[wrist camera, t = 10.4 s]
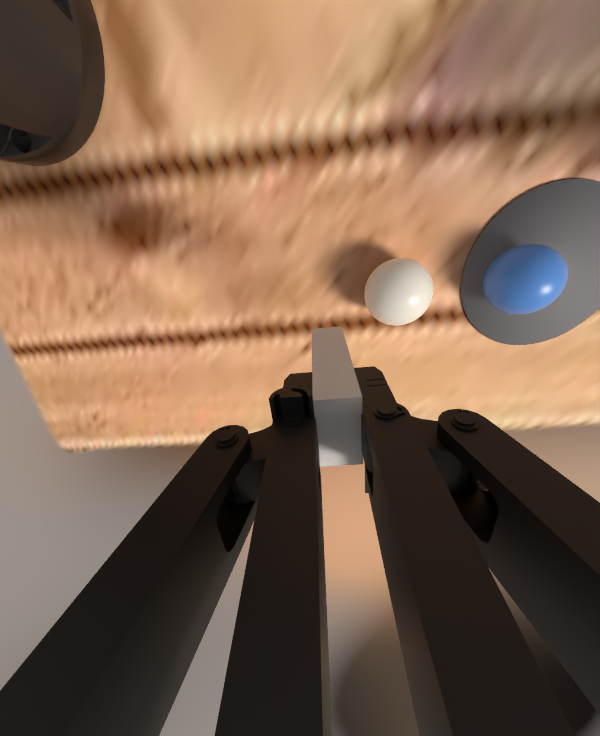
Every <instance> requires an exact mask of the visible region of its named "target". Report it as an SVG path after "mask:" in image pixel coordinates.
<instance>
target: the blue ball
mask: <svg viewBox="0 0 600 736" xmlns="http://www.w3.org/2000/svg"><path fill="white" fill-rule="evenodd" d="M567 279H568V267H567V264H566V261H565V260H564V258H563V257H562V255H561V254H560V253H558V252H557V251H556V250H554V249H553V248H551V247H548V246H545V245H540V244H526V245H521V246H517V247H514V248H512V249H509V250H507V251H506V252H504V253H502V254H501V255H500V256H498V257H497V258H496V259H495V260H494V261H493V262H492V263H491V265H490V266H489V267H488V269H487V271H486V273H485V276H484V279H483V291H484V295H485V297H486V299H487V301H488V302H489V303H490V304H491V305H492V306H493V307H494V308H496V309H497V310H499V311H502V312H504V313H508V314H517V315H519V314H528V313H532V312H535V311H538V310H541V309H543V308H545V307H546V306H548V305H549V304H551V303H552V302H553V301H554V300H555V299H556V298H557V297H558V296H559V295H560V294H561V293H562V291H563V289H564V288H565V285H566V283H567Z"/></svg>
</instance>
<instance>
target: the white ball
mask: <svg viewBox="0 0 600 736" xmlns="http://www.w3.org/2000/svg"><path fill="white" fill-rule="evenodd" d="M432 296H433V282H432V278H431V276H430V274H429V272H428V271H427V269H426V268H425V267H424V266H423V265H421V264H420V263H419V262H417V261H414V260H412V259H408V258H395V259H391V260H388V261H386V262H384V263H382V264H381V265H379V266H378V267H377V268H376V269H375V270H374V271H373V272H372V273H371V275H370V276H369V278H368V280H367V282H366V286H365V291H364V297H365V303H366V306H367V308H368V310H369V312H370V313H371V314H372V316H373V317H375V318H376V319H377V320H379V321H380V322H382V323H385V324H388V325H404V324H408V323H410V322H412V321H414V320H416V319H417V318H419V317H420V316H421V315H422V314H423V313H424V312H425V311H426V309H427V308H428V306H429V304H430V302H431V300H432Z"/></svg>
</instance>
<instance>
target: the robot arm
mask: <svg viewBox="0 0 600 736" xmlns="http://www.w3.org/2000/svg"><path fill="white" fill-rule="evenodd" d="M104 83H105V68H104V56H103V47H102V42H101V36H100V32H99V27H98V23H97V19H96V16H95V12H94V9H93V6H92V3H91V0H0V160H3V161H8V162H13V163H18V164H23V165H31V166H42V165H50V164H54V163H57V162H60V161H62V160H65V159H67V158H68V157H70V156H72V155H73V154H74V153H76V152H77V151H78V150H79V149H80V148H81V147H82V146H83V145H84V144H85V142H86V141H87V140H88V138H89V137H90V135H91V133H92V132H93V130H94V128H95V125H96V123H97V120H98V118H99V114H100V111H101V107H102V101H103V95H104ZM269 402H270V408H271V413H272V419H273V423H272V425H271V426H269V427H268V428H266V429H263V430H261V431H258V432H254V433H251V434H248V430H247V429H245V428H244V427H242V426H238V425H229V426H225V427H221V428H219V429H217V430H215V431H213V432H212V433H211V434H210V435H209V436H208V437H207V438H206V439H205V440H204V442H203V443H202V444H201V445H200V446H199V448H198V449H197V450H196V452H195V453H194V454H193V455H192V456H191V458H190V459H189V460H188V461H187V462H186V464H185V465H184V466H183V468H182V469H181V470H180V471H179V472H178V473H177V475H176V476H175V477H174V478H173V480H172V481H171V482H170V483H169V485H168V486H167V487H166V488H165V489H164V491H163V492H162V493H161V494H160V496H159V497H158V498H157V499H156V500H155V502H154V503H153V504H152V505H151V507H150V508H149V509H148V510H147V512H146V513H145V514H144V515H143V517H142V518H141V519H140V520H139V521H138V523H137V524H136V525H135V526H134V527H133V529H132V530H131V531H130V532H129V534H128V535H127V536H126V537H125V538H124V540H123V541H122V542H121V544H120V545H119V546H118V547H117V548H116V550H115V551H114V552H113V553H112V554H111V556H110V557H109V558H108V559H107V561H106V562H105V563H104V564H103V565H102V567H101V568H100V569H99V570H98V572H97V573H96V574H95V575H94V576H93V578H92V579H91V580H90V581H89V583H88V584H87V585H86V586H85V588H84V589H83V590H82V591H81V593H80V594H79V595H78V596H77V597H76V599H75V600H74V601H73V602H72V604H71V605H70V606H69V607H68V608H67V610H66V611H65V612H64V613H63V615H62V616H61V617H60V618H59V619H58V621H57V622H56V623H55V624H54V626H53V627H52V628H51V629H50V630H49V632H48V633H47V634H46V636H45V637H44V638H43V639H42V640H41V642H40V643H39V644H38V646H37V647H36V648H35V649H34V650H33V651H32V653H31V654H30V655H29V656H28V658H27V659H26V660H25V661H24V662H23V664H22V665H21V666H20V667H19V668H18V670H17V671H16V673H14V675H13V676H12V677H11V678H10V680H9V681H8V682H7V683H6V685H5V686H4V687H3V688H2V689H1V691H0V736H159V734H160V732H161V730H162V728H163V725H164V723H165V721H166V719H167V716H168V714H169V712H170V710H171V707H172V705H173V703H174V701H175V698H176V696H177V694H178V691H179V689H180V687H181V685H182V682H183V680H184V678H185V676H186V673H187V671H188V669H189V667H190V664H191V662H192V660H193V657H194V655H195V653H196V651H197V648H198V646H199V644H200V642H201V639H202V637H203V635H204V633H205V630H206V628H207V626H208V624H209V621H210V619H211V617H212V615H213V612H214V610H215V608H216V606H217V603H218V601H219V599H220V596H221V594H222V592H223V590H224V587H225V585H226V583H227V580H228V578H229V576H230V574H231V572H232V569H233V567H234V565H235V563H236V560H237V558H238V556H239V554H240V551H241V549H242V547H243V545H244V542H245V540H246V538H247V536H248V533H249V531H250V528H251V526H252V524H253V522H254V526H253V532H252V537H251V542H250V548H249V553H248V558H247V564H246V569H245V575H244V580H243V585H242V591H241V597H240V602H239V607H238V613H237V618H236V623H235V629H234V635H233V640H232V645H231V650H230V656H229V662H228V667H227V672H226V677H225V683H224V689H223V694H222V699H221V704H220V710H219V716H218V721H217V726H216V732H215V736H332V721H331V720H332V719H331V696H330V673H329V650H328V629H327V605H326V584H325V583H326V582H325V559H324V539H323V538H324V537H323V514H322V492H321V475H320V466H338V465H355V464H363V458H364V462H365V493H369V498H370V502H371V507H372V512H373V517H374V521H375V525H376V531H377V536H378V540H379V545H380V550H381V554H382V559H383V564H384V568H385V574H386V578H387V583H388V588H389V593H390V597H391V602H392V606H393V612H394V616H395V621H396V626H397V630H398V635H399V640H400V645H401V650H402V654H403V659H404V664H405V669H406V673H407V678H408V683H409V687H410V692H411V697H412V702H413V707H414V711H415V716H416V721H417V726H418V731H419V735H420V736H574V734H573V732H572V731H571V728H570V726H569V725H568V723H567V721H566V719H565V717H564V715H563V713H562V711H561V709H560V707H559V706H558V703H557V701H556V699H555V697H554V695H553V693H552V692H551V689H550V687H549V685H548V684H547V682H546V680H545V678H544V676H543V674H542V672H541V670H540V668H539V666H538V664H537V662H536V660H535V658H534V656H533V654H532V652H531V650H530V648H529V646H528V644H527V642H526V640H525V639H524V637H523V635H522V633H521V631H520V629H519V627H518V625H517V623H516V621H515V619H514V617H513V615H512V613H511V611H510V609H509V607H508V605H507V603H506V601H505V599H504V597H503V595H502V593H501V591H500V590H499V588H498V586H497V584H496V582H495V580H494V578H493V576H492V574H491V572H490V570H491V571H492V573H493V574H494V575H495V577H496V578H497V579H498V581H499V582H500V583H501V584H502V586H503V587H504V588H505V590H506V591H507V592H508V594H509V595H510V596H511V598H512V599H513V600H514V602H515V603H516V604H517V606H518V607H519V608H520V610H521V611H522V612H523V613H524V615H525V616H526V617H527V619H528V620H529V621H530V623H531V624H532V625H533V627H534V628H535V629H536V631H537V632H538V633H539V635H540V636H541V637H542V639H543V640H544V641H545V643H546V644H547V645H548V647H549V648H550V649H551V651H552V652H553V653H554V654H555V656H556V657H557V658H558V660H559V661H560V663H561V664H562V665H563V666H564V668H565V669H566V670H567V672H568V673H569V674H570V676H571V677H572V678H573V680H574V681H575V682H576V684H577V685H578V686H579V687H580V689H581V690H582V692H583V693H584V694H585V696H586V697H587V698H588V700H589V701H590V702H591V703H592V705H593V706H594V707H595V709H596V710H597V711H598V713H599V714H600V503H599V502H598V501H597V500H595V499H594V498H593V497H591V496H590V495H589V494H587V493H586V492H585V491H583V490H582V489H581V488H579V487H578V486H576V485H575V484H574V483H572V482H571V481H570V480H568V479H567V478H566V477H564V476H563V475H561V474H560V473H559V472H558V471H556V470H555V469H553V468H552V467H551V466H549V465H548V464H547V463H546V462H544V461H543V460H542V459H540V458H539V457H537V456H536V455H535V454H533V453H532V452H531V451H529V450H528V449H526V448H525V447H524V446H523V445H521V444H520V443H519V442H517V441H516V440H515V439H513V438H512V437H511V436H509V435H508V434H507V433H505V432H504V431H502V430H501V429H500V428H498V427H497V426H496V425H494V424H493V423H492V422H490V421H489V420H488V419H486V418H485V417H483V416H481V415H479V414H478V413H475V412H472V411H469V410H462V409H452V410H447V411H445V412H442V413H441V415H440V416H439V418H438V421H432V420H425V419H419V418H415V417H412V416H411V415H410V413H409V411H408V410H407V409H406V408H405V407H404V406H402V405H400V404H398V403H397V402H396V400H395V398H394V396H393V394H392V392H391V390H390V388H389V386H388V384H387V381H386V380H385V377H384V375H383V373H382V372H381V371H380V370H379V369H377V368H376V367H374V366H373V367H361V368H354V367H353V364H352V361H351V357H350V354H349V350H348V347H347V344H346V340H345V337H344V333H343V330H342V327H331V328H320V329H312V372H309V373H296V374H290V375H289V376H288V377H287V378H286V379H285V380H284V386H283V388H281V389H279V390H277V391H275V392H274V393H272V394H271V396H270V398H269ZM488 567H489V568H488ZM489 569H490V570H489Z"/></svg>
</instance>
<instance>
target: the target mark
mask: <svg viewBox="0 0 600 736" xmlns="http://www.w3.org/2000/svg"><path fill="white" fill-rule="evenodd" d="M526 244H540V245H545V246H548V247H551V248H553V249H554V250H556V251H557V252H558V253H560V254H561V255H562V257H563V258H564V260H565V261H566V264H567V267H568V279H567V283H566V285H565V288H564V289H563V291H562V293H561V294H560V295H559V296H558V297H557V298H556V299H555V300H554V301H553V302H552V303H551V304H549V305H548V306H546V307H545V308H543V309H541V310H538V311H535V312H532V313H528V314H519V315H517V314H508V313H504V312H502V311H499V310H497V309H496V308H494V307H493V306H492V305H491V304H490V303H489V302H488V301H487V299H486V297H485V295H484V291H483V279H484V276H485V273H486V271H487V269H488V267H489V266H490V265H491V263H492V262H493V261H494V260H495V259H496V258H497V257H498V256H500V255H501V254H502V253H504V252H506V251H507V250H509V249H512V248H514V247H517V246H521V245H526ZM461 300H462V304H463V308H464V311H465V314H466V316H467V318H468V319H469V321H470V323H471V324H472V325H473V326H474V327H475V329H477V330H478V331H479V332H480V333H481V334H483V335H484V336H486V337H488V338H489V339H492V340H494V341H497V342H500V343H504V344H511V345H527V344H534V343H539V342H543V341H546V340H549V339H552V338H555V337H557V336H559V335H562V334H564V333H566V332H568V331H569V330H571V329H573V328H575V327H576V326H578V325H579V324H581V323H582V322H583V321H585V320H586V319H587V318H589V317H590V316H591V315H592V314H593V313H595V312H596V311H597V310H598V309H599V308H600V182H598V181H595V180H590V179H566V180H560V181H555V182H552V183H548V184H545V185H542V186H540V187H538V188H535V189H533V190H531V191H529V192H527V193H525V194H524V195H522V196H520V197H519V198H517V199H516V200H514V201H513V202H512V203H510V204H509V205H507V206H506V207H505V208H504V209H503V210H502V211H501V212H499V213H498V214H497V215H496V216H495V217H494V218H493V219H492V221H491V222H490V223H489V224H488V225H487V226H486V227H485V229H484V230H483V231H482V233H481V234H480V235H479V237H478V239H477V240H476V242H475V244H474V245H473V247H472V249H471V251H470V253H469V255H468V258H467V260H466V263H465V266H464V270H463V275H462V280H461Z"/></svg>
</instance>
